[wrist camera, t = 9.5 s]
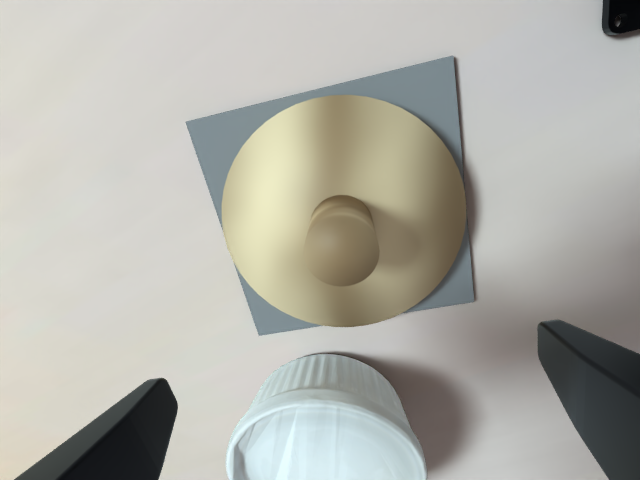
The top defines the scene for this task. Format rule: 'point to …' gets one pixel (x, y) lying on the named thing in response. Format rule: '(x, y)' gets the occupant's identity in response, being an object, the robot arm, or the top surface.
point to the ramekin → (325, 426)
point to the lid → (343, 210)
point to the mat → (393, 87)
